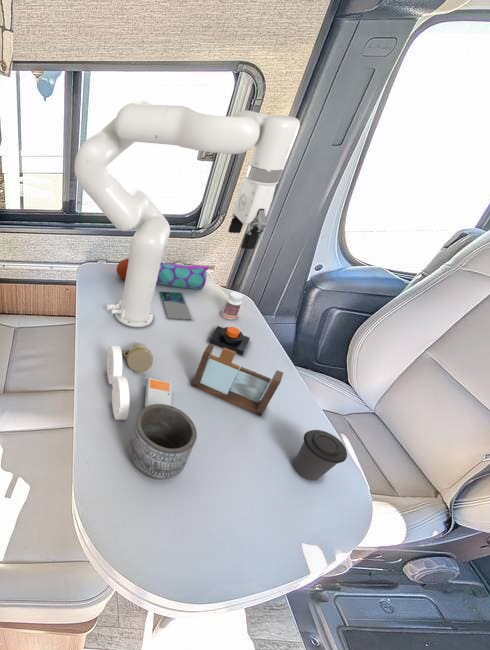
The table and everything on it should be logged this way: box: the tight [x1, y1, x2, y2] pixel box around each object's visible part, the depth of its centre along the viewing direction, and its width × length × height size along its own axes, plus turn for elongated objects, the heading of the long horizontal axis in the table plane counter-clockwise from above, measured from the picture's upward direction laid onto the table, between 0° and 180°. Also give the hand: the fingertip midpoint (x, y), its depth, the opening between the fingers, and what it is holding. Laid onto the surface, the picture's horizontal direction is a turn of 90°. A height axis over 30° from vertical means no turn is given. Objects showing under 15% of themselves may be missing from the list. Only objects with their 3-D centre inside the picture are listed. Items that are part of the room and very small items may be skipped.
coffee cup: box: [292, 429, 348, 482], centre depth 84 cm, size 8×8×10 cm
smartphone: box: [160, 291, 192, 321], centre depth 137 cm, size 8×1×16 cm
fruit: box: [116, 257, 129, 280], centre depth 148 cm, size 9×9×8 cm
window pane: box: [200, 347, 241, 394], centre depth 100 cm, size 7×1×13 cm, turn 55°
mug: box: [122, 342, 154, 373], centre depth 111 cm, size 8×10×10 cm
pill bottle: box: [221, 291, 244, 320], centre depth 131 cm, size 5×5×8 cm
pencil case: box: [156, 260, 210, 290], centre depth 145 cm, size 21×9×10 cm, turn 76°
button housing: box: [208, 325, 251, 356], centre depth 121 cm, size 10×8×4 cm
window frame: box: [191, 343, 284, 417], centre depth 100 cm, size 18×4×12 cm, turn 55°
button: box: [226, 326, 241, 338], centre depth 119 cm, size 4×4×2 cm
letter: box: [106, 345, 131, 421], centre depth 100 cm, size 22×2×10 cm, turn 0°
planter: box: [128, 404, 198, 481], centre depth 83 cm, size 12×12×13 cm
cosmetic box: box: [144, 377, 173, 408], centre depth 99 cm, size 6×4×12 cm
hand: (240, 240), depth 104 cm, fingers open, 9 cm apart
